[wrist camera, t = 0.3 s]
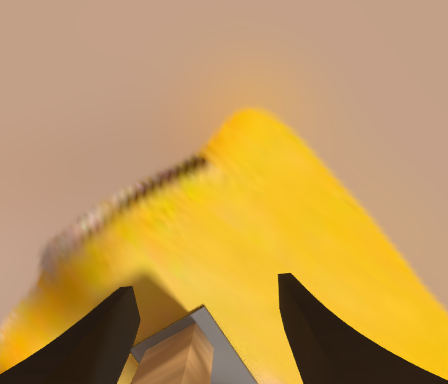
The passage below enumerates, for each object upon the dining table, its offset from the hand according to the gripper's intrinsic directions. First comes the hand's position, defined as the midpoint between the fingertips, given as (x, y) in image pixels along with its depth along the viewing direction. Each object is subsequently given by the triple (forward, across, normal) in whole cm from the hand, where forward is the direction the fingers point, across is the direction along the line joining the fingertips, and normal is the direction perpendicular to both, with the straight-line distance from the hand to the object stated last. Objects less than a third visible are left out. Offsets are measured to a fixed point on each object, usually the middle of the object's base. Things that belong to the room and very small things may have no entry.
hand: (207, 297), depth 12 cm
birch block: (+9, +5, +13) cm, 16 cm away
